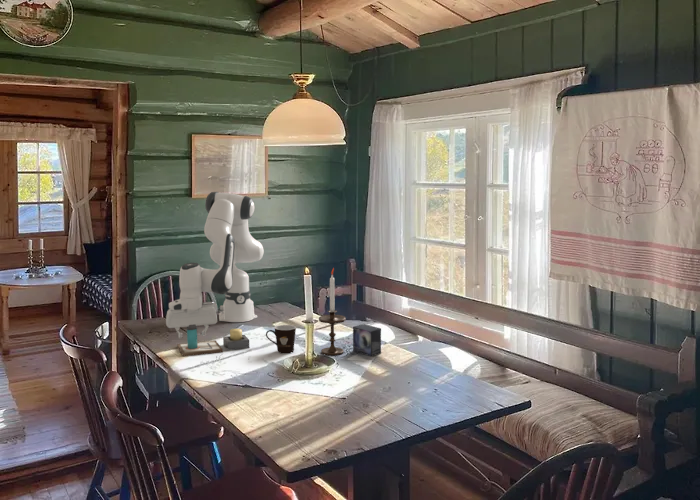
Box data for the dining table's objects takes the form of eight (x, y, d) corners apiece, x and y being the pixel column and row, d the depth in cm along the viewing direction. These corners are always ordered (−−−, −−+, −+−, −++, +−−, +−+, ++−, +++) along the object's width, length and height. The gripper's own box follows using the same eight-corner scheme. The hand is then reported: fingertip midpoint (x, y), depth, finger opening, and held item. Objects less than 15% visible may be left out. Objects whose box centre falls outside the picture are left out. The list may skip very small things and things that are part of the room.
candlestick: (351, 352, 274) (351, 267, 270) (332, 357, 266) (332, 270, 262) (331, 347, 281) (331, 264, 277) (313, 352, 273) (312, 267, 269)
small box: (351, 351, 275) (351, 326, 274) (363, 348, 280) (363, 323, 279) (370, 356, 268) (370, 330, 267) (381, 353, 272) (381, 328, 271)
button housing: (223, 344, 285) (223, 336, 285) (244, 342, 289) (244, 334, 288) (227, 350, 277) (227, 341, 277) (249, 347, 280) (249, 339, 280)
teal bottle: (186, 346, 277) (185, 323, 276) (196, 345, 279) (196, 322, 277) (188, 349, 273) (187, 325, 272) (198, 348, 275) (197, 324, 273)
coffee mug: (300, 350, 277) (300, 326, 275) (288, 355, 269) (287, 331, 268) (277, 346, 283) (277, 323, 281) (264, 351, 275) (264, 327, 274)
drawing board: (177, 346, 282) (177, 343, 282) (215, 343, 288) (215, 339, 288) (182, 356, 268) (182, 353, 268) (222, 352, 274) (222, 348, 274)
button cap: (228, 338, 284) (228, 329, 283) (240, 337, 286) (240, 328, 285) (231, 341, 279) (231, 332, 279) (243, 340, 281) (243, 330, 281)
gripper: (215, 299, 280) (216, 332, 282) (164, 303, 273) (166, 337, 275) (218, 302, 275) (219, 335, 276) (166, 306, 267) (168, 340, 269)
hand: (192, 336), depth 275 cm, fingers open, 8 cm apart
